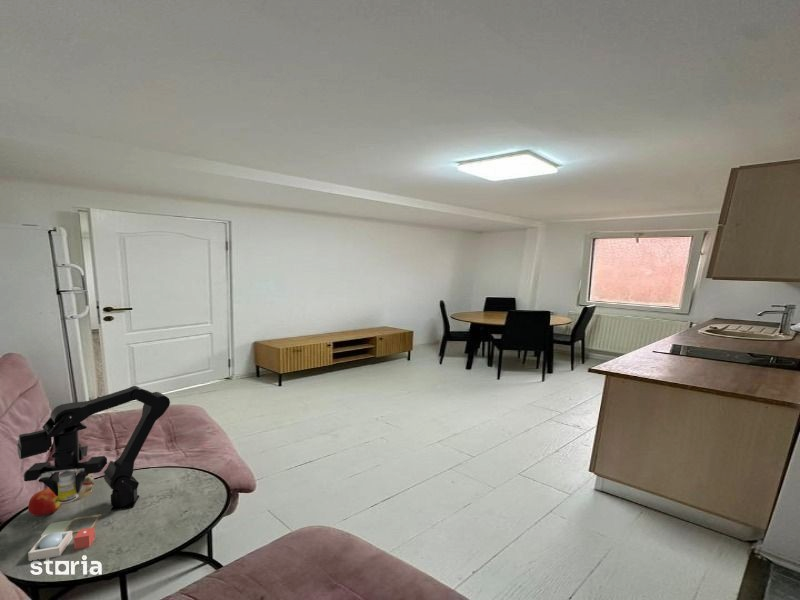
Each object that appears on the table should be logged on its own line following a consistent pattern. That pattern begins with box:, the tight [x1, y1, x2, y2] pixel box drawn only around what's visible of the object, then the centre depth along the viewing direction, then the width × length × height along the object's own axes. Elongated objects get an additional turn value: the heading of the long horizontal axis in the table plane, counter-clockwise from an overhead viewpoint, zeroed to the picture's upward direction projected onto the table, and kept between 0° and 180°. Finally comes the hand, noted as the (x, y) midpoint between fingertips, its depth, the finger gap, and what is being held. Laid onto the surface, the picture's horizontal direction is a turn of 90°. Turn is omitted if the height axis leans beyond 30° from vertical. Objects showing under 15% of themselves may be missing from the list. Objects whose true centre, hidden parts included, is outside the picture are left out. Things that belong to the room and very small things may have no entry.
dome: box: [39, 532, 62, 549], centre depth 108 cm, size 5×5×3 cm
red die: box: [73, 526, 96, 550], centre depth 110 cm, size 4×4×4 cm
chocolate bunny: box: [72, 469, 95, 502], centre depth 131 cm, size 6×8×10 cm
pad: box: [40, 519, 73, 538], centre depth 116 cm, size 6×6×1 cm
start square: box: [64, 513, 102, 534], centre depth 118 cm, size 7×7×1 cm
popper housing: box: [27, 530, 74, 562], centre depth 108 cm, size 7×7×2 cm
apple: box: [27, 487, 63, 517], centre depth 122 cm, size 8×8×8 cm
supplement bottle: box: [58, 470, 79, 504], centre depth 115 cm, size 5×5×8 cm
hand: (68, 493), depth 115 cm, fingers closed on supplement bottle, 5 cm apart
